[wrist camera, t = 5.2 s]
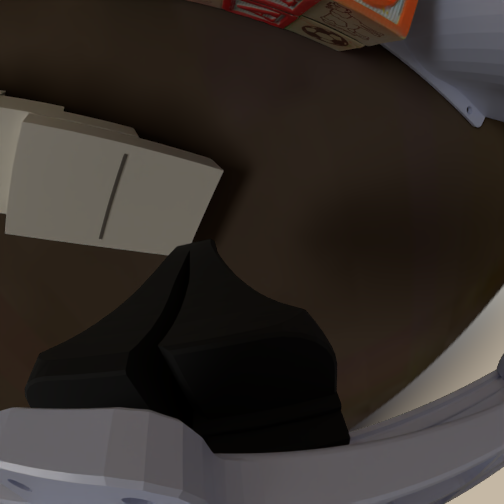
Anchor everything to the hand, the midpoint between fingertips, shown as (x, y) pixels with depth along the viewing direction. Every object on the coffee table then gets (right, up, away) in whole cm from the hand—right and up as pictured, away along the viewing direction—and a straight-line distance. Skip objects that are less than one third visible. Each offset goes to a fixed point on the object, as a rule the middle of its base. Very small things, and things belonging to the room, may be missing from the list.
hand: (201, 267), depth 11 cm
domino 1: (-1, +3, +4) cm, 5 cm away
